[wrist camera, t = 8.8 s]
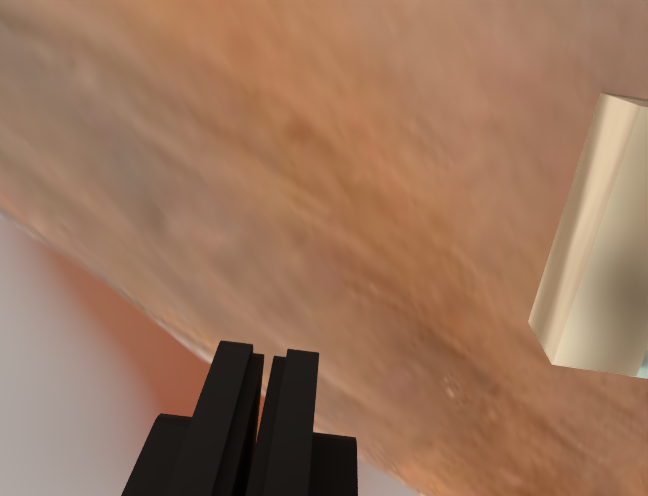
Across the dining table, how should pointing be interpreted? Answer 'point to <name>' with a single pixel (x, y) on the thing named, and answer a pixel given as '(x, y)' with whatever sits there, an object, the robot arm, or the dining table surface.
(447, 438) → the dining table surface
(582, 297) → the t block
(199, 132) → the dining table surface
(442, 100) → the dining table surface
